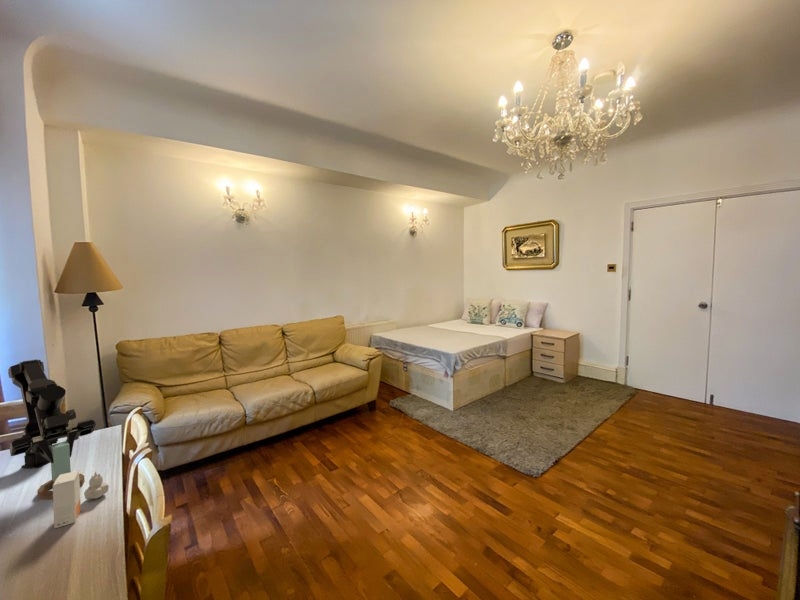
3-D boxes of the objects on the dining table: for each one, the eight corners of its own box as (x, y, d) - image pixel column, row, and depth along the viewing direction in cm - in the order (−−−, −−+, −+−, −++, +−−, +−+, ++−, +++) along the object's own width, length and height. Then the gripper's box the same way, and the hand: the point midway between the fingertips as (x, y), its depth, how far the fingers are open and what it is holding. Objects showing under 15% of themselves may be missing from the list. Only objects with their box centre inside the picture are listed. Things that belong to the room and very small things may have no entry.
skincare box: (76, 522, 89) (73, 480, 89) (54, 529, 87) (51, 485, 86) (81, 509, 94) (79, 469, 94) (60, 515, 92) (58, 474, 91)
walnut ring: (61, 479, 109) (60, 474, 109) (92, 479, 109) (92, 473, 109) (28, 499, 99) (28, 493, 99) (62, 498, 99) (62, 492, 99)
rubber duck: (107, 489, 104) (106, 464, 103) (110, 498, 99) (109, 472, 99) (83, 497, 100) (82, 472, 99) (85, 507, 95) (84, 480, 95)
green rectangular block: (51, 479, 103) (49, 445, 103) (67, 473, 106) (65, 441, 106) (55, 483, 101) (53, 448, 101) (71, 477, 104) (69, 443, 104)
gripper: (9, 413, 97) (19, 461, 91) (92, 395, 112) (105, 434, 107) (5, 433, 101) (15, 479, 96) (86, 413, 117) (98, 451, 112)
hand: (61, 459), depth 103 cm, fingers closed on green rectangular block, 4 cm apart
